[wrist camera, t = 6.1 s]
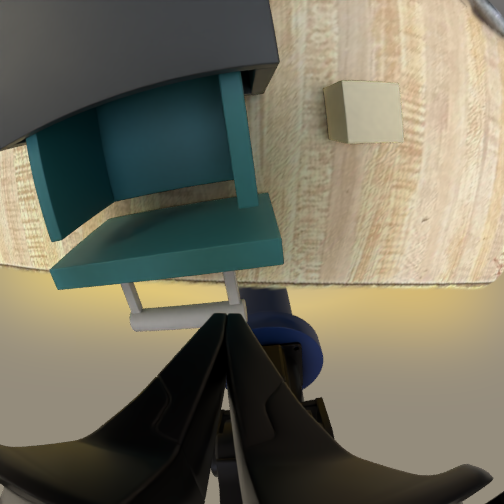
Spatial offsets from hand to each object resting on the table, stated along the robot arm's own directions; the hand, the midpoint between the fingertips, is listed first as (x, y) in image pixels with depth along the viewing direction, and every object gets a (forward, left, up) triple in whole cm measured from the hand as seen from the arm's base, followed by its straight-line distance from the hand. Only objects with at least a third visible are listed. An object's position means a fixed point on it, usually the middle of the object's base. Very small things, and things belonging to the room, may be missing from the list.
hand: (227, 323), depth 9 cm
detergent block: (+6, -8, -12) cm, 16 cm away
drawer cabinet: (+15, +4, -12) cm, 20 cm away
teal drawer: (+4, +4, -11) cm, 13 cm away
